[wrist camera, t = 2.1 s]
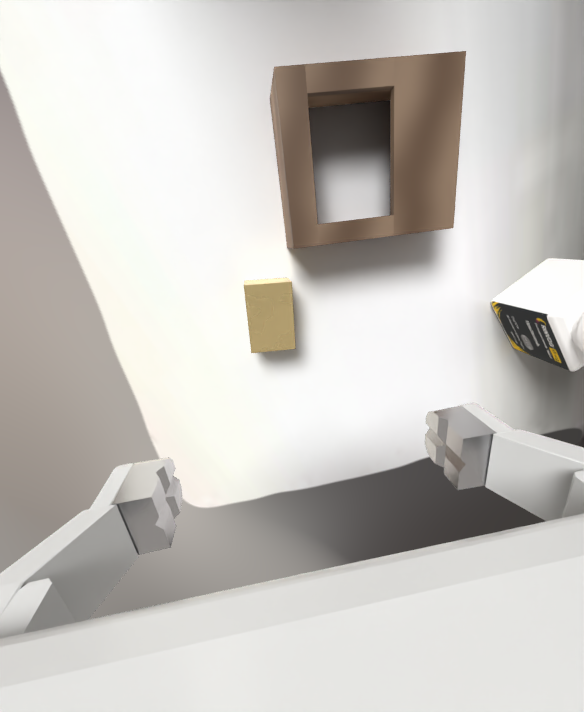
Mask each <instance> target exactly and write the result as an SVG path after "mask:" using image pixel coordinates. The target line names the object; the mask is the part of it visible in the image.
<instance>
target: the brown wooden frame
mask: <svg viewBox="0 0 584 712" xmlns="http://www.w3.org/2000/svg"><path fill="white" fill-rule="evenodd" d="M465 57H466V51H462V52H449V53H437V54H425V55H413V56H401V57H388V58H376V59H364V60H352V61H340V62H328V63H315V64H303V65H291V66H279V67H274V72H273V79H272V87H271V94H270V104H271V113H272V121H273V130H274V139H275V147H276V156H277V164H278V173H279V181H280V190H281V199H282V207H283V216H284V224H285V233H286V241H287V248H293V249H295V248H303V247H311V246H318V245H326V244H334V243H342V242H349V241H357V240H365V239H372V238H380V237H388V236H396V235H403V234H411V233H419V232H426V231H434V230H442V229H449V228H453V225H454V211H455V197H456V183H457V169H458V155H459V141H460V127H461V113H462V99H463V85H464V71H465ZM387 100H391V101H390V216H381V217H373V218H365V219H357V220H349V221H341V222H333V223H325V224H318V222H317V209H316V197H315V184H314V172H313V159H312V146H311V134H310V121H309V109H308V108H313V107H323V106H334V105H345V104H355V103H366V102H377V101H387Z"/></svg>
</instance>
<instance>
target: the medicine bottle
mask: <svg viewBox="0 0 584 712" xmlns="http://www.w3.org/2000/svg"><path fill="white" fill-rule="evenodd" d="M491 305H492V307H493V309H494V311H495V313H496V315H497V317H498V319H499V321H500V323H501V325H502V327H503V329H504V331H505V333H506V335H507V337H508V338H509V340H510V342H511V344H512V346H513V348H515V349H517V350H519V351H522V352H524V353H527V354H529V355H532V356H534V357H537V358H539V359H542V360H544V361H547V362H549V363H552V364H554V365H557V366H559V367H562V368H564V369H567V370H569V371H576V370H578V369H580V368H581V367H582V366H584V260H571V259H552V258H549V259H546V260H544V261H543V262H542V263H540V264H539V265H538V266H536V267H535V268H534V269H532V270H531V271H530V272H528V273H527V274H526V275H524V276H523V277H522V278H520V279H519V280H518V281H516V282H515V283H514V284H512V285H511V286H510V287H508V288H507V289H506V290H504V291H503V292H502V293H500V294H499V295H498V296H496V297H495V298H494V299H492V300H491Z"/></svg>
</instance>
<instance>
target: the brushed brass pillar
mask: <svg viewBox="0 0 584 712" xmlns="http://www.w3.org/2000/svg"><path fill="white" fill-rule="evenodd" d="M244 291H245V300H246V309H247V317H248V326H249V335H250V344H251V353H258V352H268V351H278V350H288V349H296V348H295V331H294V313H293V296H292V281H290V280H289V279H288V278H274V279H261V280H247V281H244Z"/></svg>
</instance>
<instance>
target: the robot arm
mask: <svg viewBox="0 0 584 712" xmlns="http://www.w3.org/2000/svg"><path fill="white" fill-rule="evenodd" d="M426 424H427V425H428V426H429V427H430V429H429V430H428V432H427V433H426V434H425V445H426V449H427V452H428V454H429V456H430V458H431V459H432V460H433V462H434V463H435V464H437V465H439V466H441V467H444V475H445V476H446V477H447V478H448V479H449V480H450V482H451V483H452V484H453V485H454V486H455V487H456V489H457V490H461V489H467V488H473V487H479V486H484V485H485V487H486V488H488V489H490V490H492V491H494V492H495V493H497V494H499V495H501V496H503V497H504V498H506V499H508V500H510V501H511V502H513V503H515V504H517V505H519V506H520V507H522V508H524V509H526V510H527V511H529V512H531V513H533V514H535V515H536V516H538V517H540V518H542V519H544V520H545V521H546V522H542V523H537V524H533V525H528V526H523V527H518V528H514V529H509V530H504V531H500V532H496V533H491V534H486V535H481V536H476V537H472V538H467V539H462V540H458V541H453V542H448V543H444V544H439V545H434V546H429V547H425V548H420V549H415V550H411V551H406V552H401V553H397V554H392V555H387V556H383V557H378V558H374V559H369V560H364V561H360V562H355V563H351V564H345V565H341V566H336V567H332V568H327V569H322V570H318V571H313V572H309V573H304V574H299V575H294V576H290V577H285V578H281V579H276V580H271V581H267V582H262V583H257V584H253V585H248V586H243V587H239V588H234V589H229V590H224V591H220V592H215V593H211V594H206V595H201V596H197V597H192V598H187V599H182V600H178V601H173V602H168V603H164V604H159V605H154V606H150V607H145V608H141V609H136V610H132V611H127V612H122V613H117V614H113V615H108V616H103V617H99V618H94V619H89V618H90V617H91V615H92V614H93V613H94V612H95V611H96V609H97V608H98V607H99V606H100V604H101V603H102V602H103V601H104V599H105V598H106V597H107V596H108V594H109V593H110V592H111V591H112V590H113V588H114V587H115V586H116V585H117V583H118V582H119V581H120V579H121V578H122V577H123V576H124V575H125V573H126V572H127V570H129V568H130V567H131V566H132V564H133V563H134V562H135V561H136V559H137V558H138V557H139V556H138V555H140V554H145V553H149V552H153V551H157V550H162V549H166V548H170V547H171V544H172V540H173V537H174V533H175V529H176V524H175V521H174V518H175V517H176V516H177V515H178V514H179V513H180V510H181V506H182V489H181V484H180V481H179V479H177V478H176V477H174V476H173V474H174V471H175V466H174V463H173V460H172V459H171V458H162V459H156V460H151V461H144V462H137V463H131V464H125V465H119V466H117V467H116V468H114V470H113V472H112V473H111V475H110V476H109V478H108V480H107V481H106V483H105V485H104V486H103V488H102V490H101V491H100V493H99V495H98V496H97V498H96V499H95V501H94V503H93V504H92V506H91V508H90V509H89V510H84V511H82V512H81V513H80V514H78V515H77V516H76V517H74V518H73V519H72V520H70V521H69V522H68V523H66V524H65V525H64V526H62V527H61V528H60V529H58V530H57V531H56V532H54V533H53V534H52V535H51V536H49V537H48V538H47V539H45V540H44V541H43V542H42V543H40V544H39V545H37V546H36V547H35V548H33V549H32V550H31V551H30V552H28V553H27V554H25V555H24V556H23V557H22V558H20V559H19V560H18V561H16V562H15V563H14V564H12V565H11V566H10V567H8V568H7V569H6V570H5V571H3V572H2V573H1V574H0V712H584V448H583V447H579V446H576V445H572V444H569V443H565V442H562V441H559V440H555V439H552V438H548V437H544V436H541V435H538V434H534V433H531V432H528V431H524V430H521V429H517V430H514V429H513V428H511V427H510V426H508V425H507V424H505V423H504V422H503V421H501V420H500V419H498V418H497V417H495V416H494V415H492V414H491V413H490V412H488V411H487V410H485V409H484V408H482V407H481V406H480V405H478V404H475V403H470V404H465V405H460V406H457V407H452V408H447V409H441V410H436V411H431V412H428V414H427V416H426ZM88 619H89V620H88Z"/></svg>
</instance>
